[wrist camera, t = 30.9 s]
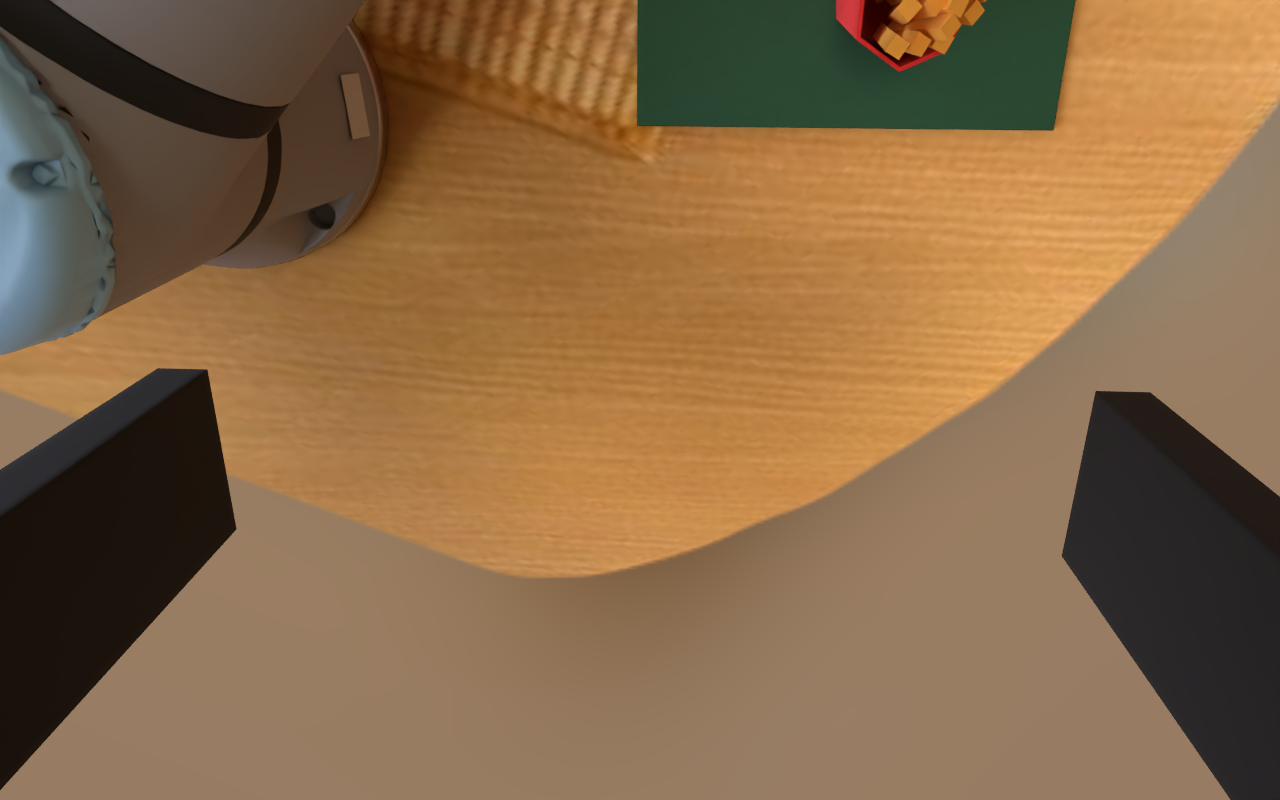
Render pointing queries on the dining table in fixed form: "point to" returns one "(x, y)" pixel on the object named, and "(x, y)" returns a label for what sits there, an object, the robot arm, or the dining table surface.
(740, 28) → the green cloth
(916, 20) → the french fries
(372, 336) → the dining table surface
